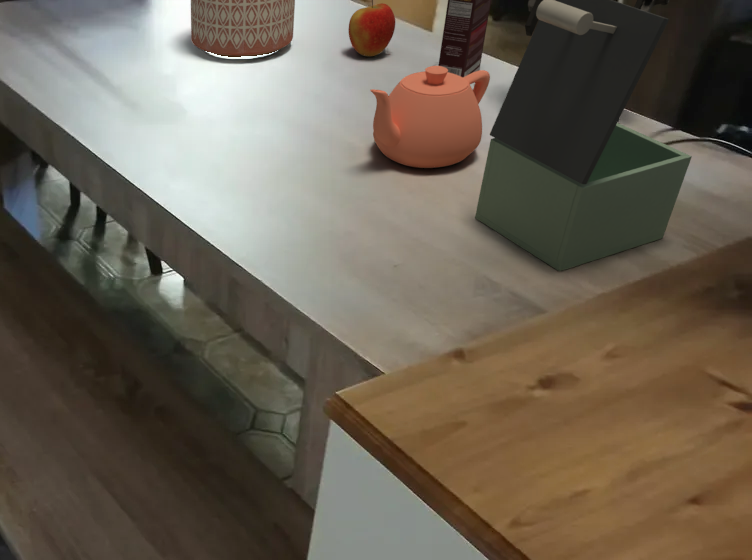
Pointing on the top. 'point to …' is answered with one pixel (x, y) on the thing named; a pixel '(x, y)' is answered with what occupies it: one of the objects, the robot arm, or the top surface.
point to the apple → (371, 29)
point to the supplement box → (464, 36)
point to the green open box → (583, 199)
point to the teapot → (430, 117)
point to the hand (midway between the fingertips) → (574, 38)
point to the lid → (576, 81)
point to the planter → (242, 26)
